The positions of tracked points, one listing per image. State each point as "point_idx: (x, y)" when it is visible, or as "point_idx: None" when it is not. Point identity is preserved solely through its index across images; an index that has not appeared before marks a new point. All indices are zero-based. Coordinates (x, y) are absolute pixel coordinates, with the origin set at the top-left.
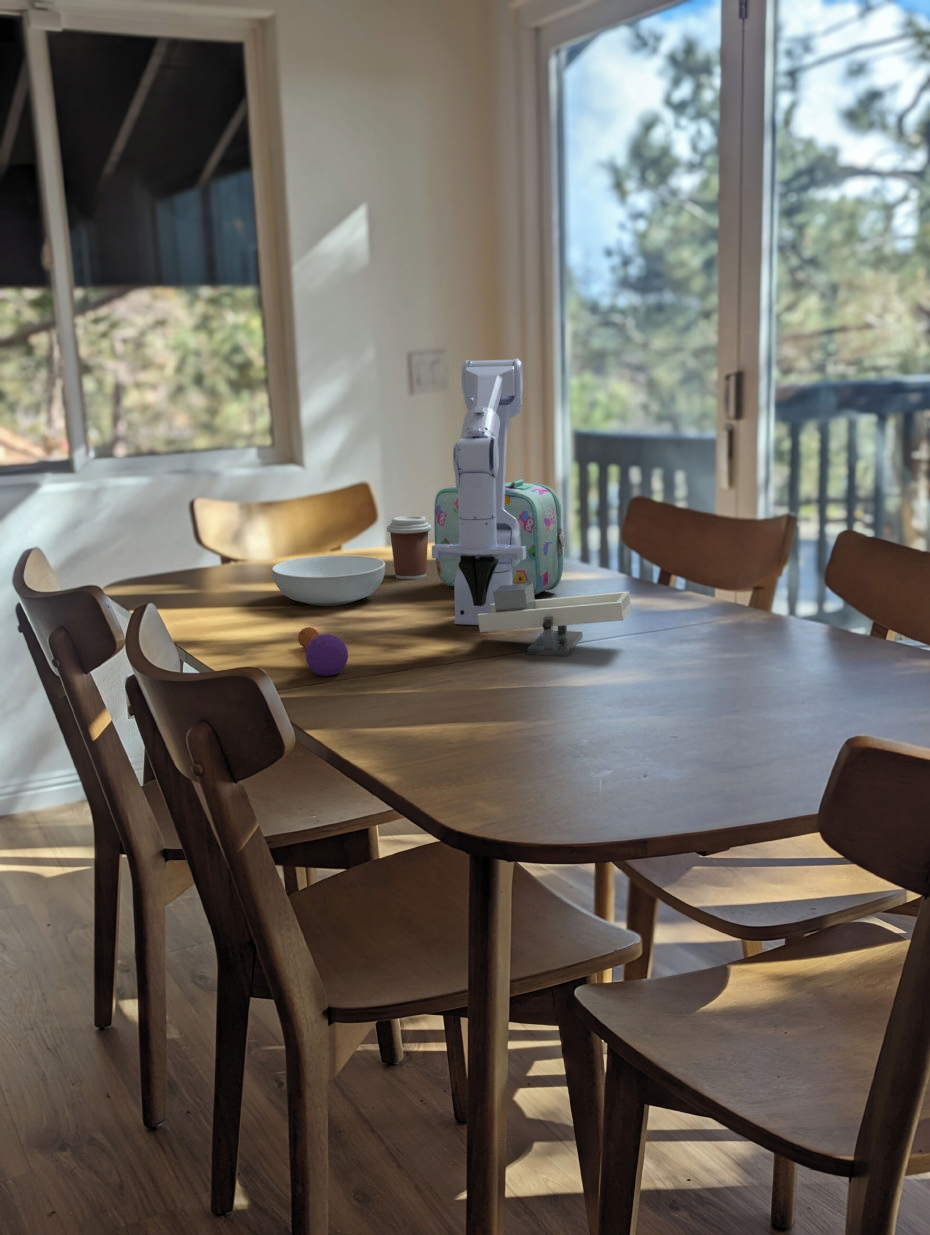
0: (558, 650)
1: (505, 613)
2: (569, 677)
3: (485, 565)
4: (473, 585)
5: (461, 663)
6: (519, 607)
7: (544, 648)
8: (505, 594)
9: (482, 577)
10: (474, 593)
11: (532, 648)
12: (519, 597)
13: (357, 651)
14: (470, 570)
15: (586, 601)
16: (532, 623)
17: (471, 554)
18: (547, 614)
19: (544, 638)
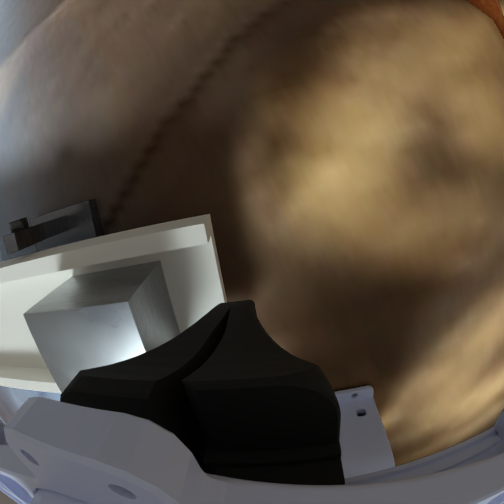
0: (40, 216)
1: (103, 243)
2: (5, 97)
3: (80, 377)
4: (234, 333)
5: (202, 59)
6: (74, 285)
7: (61, 216)
8: (87, 301)
9: (160, 353)
10: (237, 315)
11: (81, 209)
12: (54, 300)
13: (480, 105)
14: (221, 367)
15: (17, 372)
16: (57, 248)
17: (73, 406)
18: (15, 261)
19: (46, 221)
